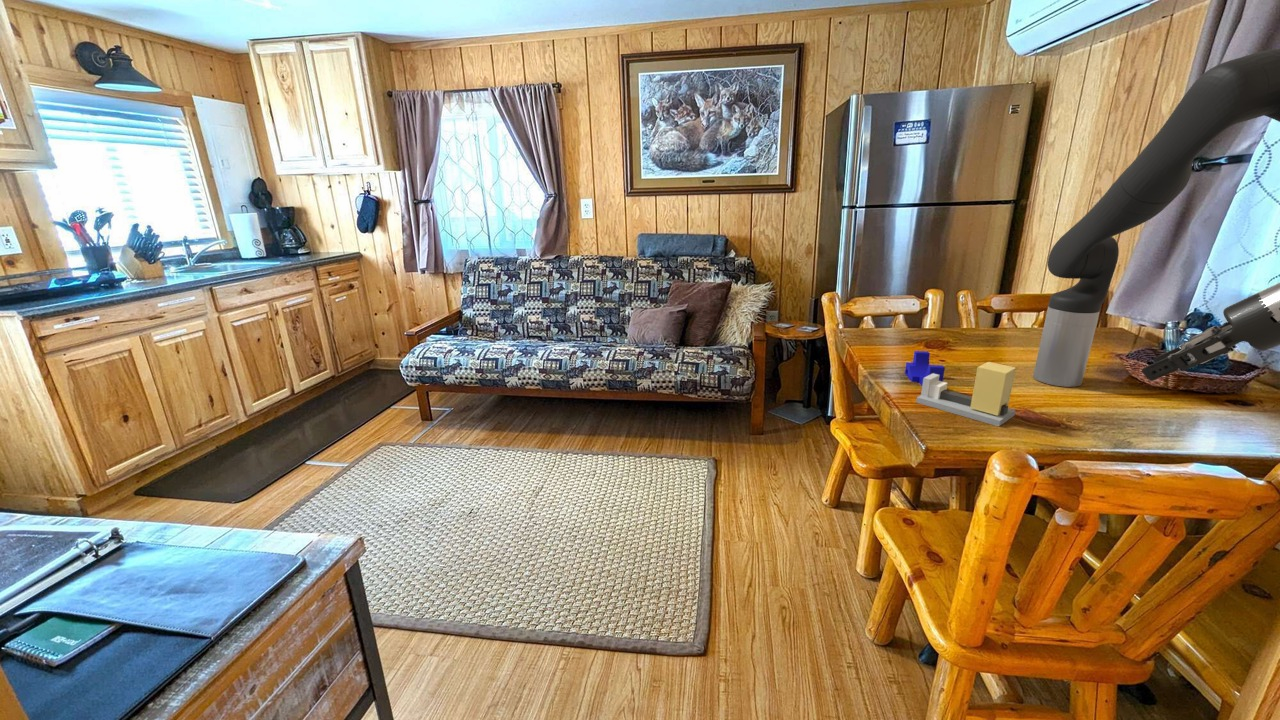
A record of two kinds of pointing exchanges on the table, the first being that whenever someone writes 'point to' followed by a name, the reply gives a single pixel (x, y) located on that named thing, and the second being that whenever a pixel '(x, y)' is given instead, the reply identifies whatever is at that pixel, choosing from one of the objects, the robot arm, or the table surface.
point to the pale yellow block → (992, 387)
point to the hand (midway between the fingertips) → (1151, 369)
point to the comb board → (957, 402)
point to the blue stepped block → (922, 367)
